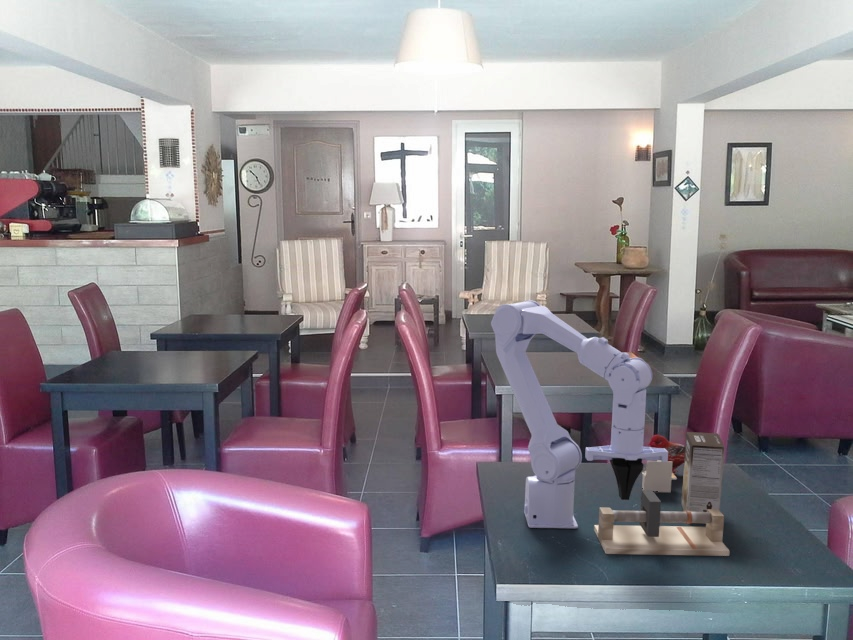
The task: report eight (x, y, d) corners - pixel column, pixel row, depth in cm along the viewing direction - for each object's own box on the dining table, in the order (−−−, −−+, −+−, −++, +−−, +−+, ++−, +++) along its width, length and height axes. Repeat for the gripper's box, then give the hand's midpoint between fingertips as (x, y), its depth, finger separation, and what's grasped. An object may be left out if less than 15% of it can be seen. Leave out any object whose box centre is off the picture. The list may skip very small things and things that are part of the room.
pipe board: (605, 553, 135) (607, 521, 134) (593, 529, 145) (595, 499, 144) (729, 555, 135) (731, 523, 134) (708, 531, 145) (711, 501, 144)
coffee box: (680, 504, 158) (685, 430, 155) (712, 507, 156) (718, 432, 154) (685, 522, 149) (691, 444, 146) (720, 525, 148) (726, 446, 145)
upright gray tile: (647, 536, 137) (649, 501, 136) (639, 524, 142) (641, 490, 141) (658, 536, 137) (661, 501, 136) (650, 524, 142) (652, 490, 141)
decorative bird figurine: (641, 475, 174) (644, 434, 173) (702, 466, 181) (705, 426, 179) (649, 480, 172) (652, 437, 170) (710, 470, 178) (714, 430, 177)
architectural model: (640, 488, 168) (642, 455, 167) (671, 488, 168) (673, 456, 167) (644, 493, 165) (646, 461, 164) (676, 494, 165) (678, 461, 163)
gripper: (592, 432, 133) (588, 505, 135) (675, 433, 132) (670, 506, 135) (584, 420, 140) (581, 490, 142) (663, 421, 139) (658, 492, 142)
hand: (623, 497), depth 139 cm, fingers closed
